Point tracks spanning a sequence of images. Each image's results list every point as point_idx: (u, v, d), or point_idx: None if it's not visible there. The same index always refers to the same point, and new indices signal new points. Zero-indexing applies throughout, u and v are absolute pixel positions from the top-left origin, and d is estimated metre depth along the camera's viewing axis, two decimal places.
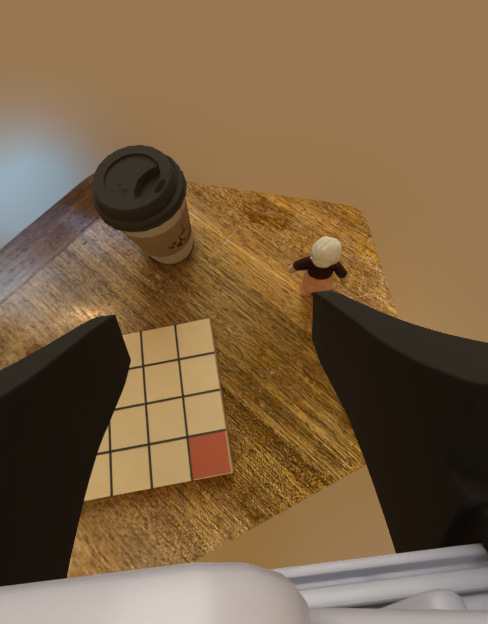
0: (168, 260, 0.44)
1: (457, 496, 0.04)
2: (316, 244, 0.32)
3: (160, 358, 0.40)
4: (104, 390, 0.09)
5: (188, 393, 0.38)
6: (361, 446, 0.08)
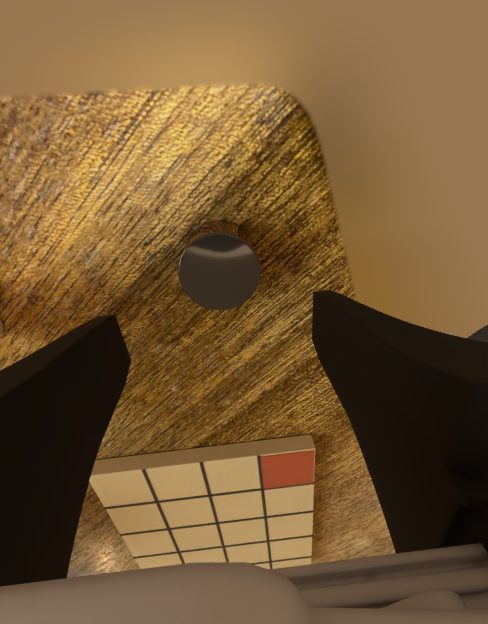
0: None
1: (457, 496, 0.04)
2: None
3: (157, 516, 0.29)
4: (104, 390, 0.09)
5: (205, 491, 0.27)
6: (361, 446, 0.08)
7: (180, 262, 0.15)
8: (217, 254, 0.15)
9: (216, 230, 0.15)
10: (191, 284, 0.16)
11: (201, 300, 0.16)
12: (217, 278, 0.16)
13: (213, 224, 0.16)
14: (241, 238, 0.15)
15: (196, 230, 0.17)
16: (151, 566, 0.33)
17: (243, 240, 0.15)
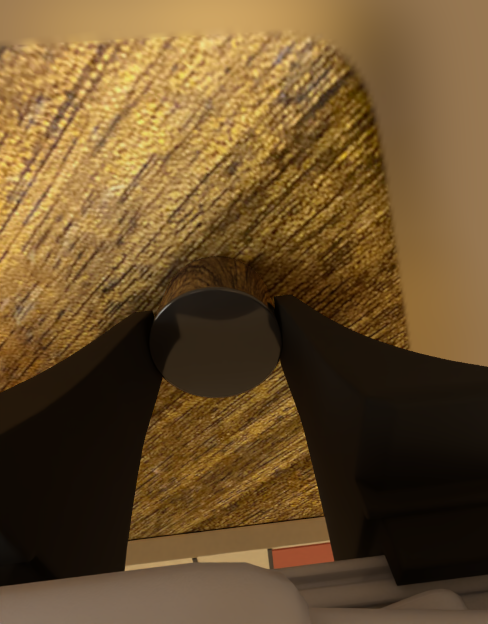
0: None
1: (362, 508, 0.04)
2: None
3: None
4: (146, 385, 0.09)
5: None
6: (310, 452, 0.08)
7: (151, 333, 0.09)
8: (212, 321, 0.09)
9: (211, 281, 0.09)
10: (171, 364, 0.10)
11: (187, 386, 0.10)
12: (212, 355, 0.10)
13: (206, 265, 0.10)
14: (252, 295, 0.09)
15: (180, 273, 0.11)
16: None
17: (256, 298, 0.09)
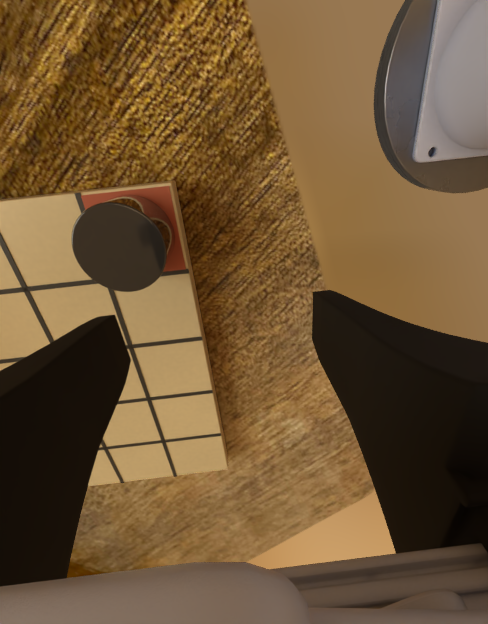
0: None
1: (457, 496, 0.04)
2: None
3: None
4: (104, 390, 0.09)
5: (15, 277, 0.17)
6: (361, 446, 0.08)
7: (72, 237, 0.13)
8: (113, 228, 0.13)
9: (111, 201, 0.13)
10: (89, 262, 0.14)
11: (104, 280, 0.15)
12: (117, 255, 0.14)
13: (117, 197, 0.15)
14: (138, 209, 0.13)
15: None
16: None
17: (140, 211, 0.13)
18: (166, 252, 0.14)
